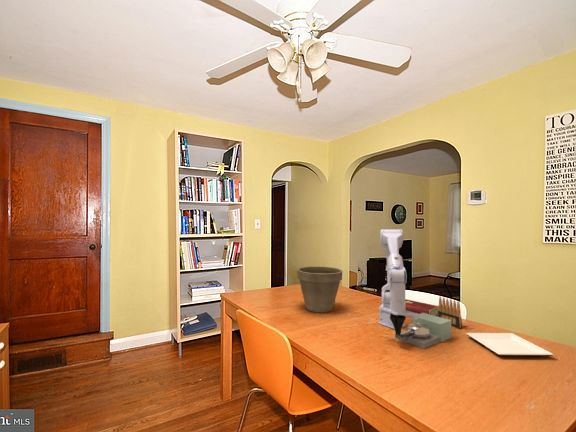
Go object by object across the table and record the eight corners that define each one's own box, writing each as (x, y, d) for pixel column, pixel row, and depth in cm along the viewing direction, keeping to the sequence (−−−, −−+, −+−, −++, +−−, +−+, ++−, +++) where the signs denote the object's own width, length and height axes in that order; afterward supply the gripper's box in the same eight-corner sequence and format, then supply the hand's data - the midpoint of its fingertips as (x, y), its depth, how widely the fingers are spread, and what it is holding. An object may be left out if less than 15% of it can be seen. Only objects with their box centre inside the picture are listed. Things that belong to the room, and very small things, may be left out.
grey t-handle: (415, 329, 117) (415, 318, 117) (434, 335, 111) (433, 324, 111) (391, 338, 108) (390, 326, 108) (409, 345, 102) (409, 333, 102)
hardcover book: (430, 319, 138) (429, 310, 138) (391, 309, 154) (390, 301, 154) (440, 314, 145) (440, 305, 145) (402, 305, 162) (402, 297, 162)
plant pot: (349, 306, 158) (348, 268, 159) (331, 319, 137) (331, 274, 138) (310, 300, 172) (310, 264, 172) (288, 310, 151) (288, 270, 152)
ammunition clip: (462, 328, 124) (461, 301, 125) (459, 328, 124) (458, 301, 124) (440, 320, 134) (439, 295, 134) (437, 321, 133) (437, 296, 134)
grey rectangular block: (397, 338, 114) (396, 321, 114) (423, 328, 124) (423, 312, 124) (425, 349, 104) (425, 330, 104) (451, 337, 114) (451, 320, 114)
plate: (465, 337, 114) (465, 332, 115) (512, 337, 114) (512, 332, 114) (498, 359, 96) (498, 353, 96) (554, 360, 95) (554, 354, 95)
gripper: (376, 298, 112) (376, 333, 111) (414, 304, 103) (415, 341, 103) (381, 295, 118) (382, 327, 117) (419, 300, 109) (419, 335, 109)
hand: (398, 334), depth 110 cm, fingers closed
